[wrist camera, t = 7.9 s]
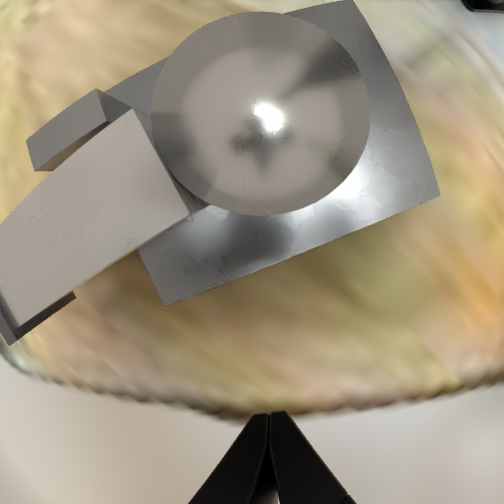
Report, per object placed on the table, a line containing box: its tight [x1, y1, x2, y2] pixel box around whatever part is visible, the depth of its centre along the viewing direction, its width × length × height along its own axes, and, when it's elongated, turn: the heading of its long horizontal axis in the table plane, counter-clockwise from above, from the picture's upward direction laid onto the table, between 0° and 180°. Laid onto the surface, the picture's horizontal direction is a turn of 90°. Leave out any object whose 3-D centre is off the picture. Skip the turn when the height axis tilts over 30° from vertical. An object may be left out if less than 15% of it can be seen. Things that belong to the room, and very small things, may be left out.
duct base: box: [26, 0, 440, 306], centre depth 12 cm, size 16×12×6 cm
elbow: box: [0, 12, 371, 346], centre depth 11 cm, size 16×6×5 cm, turn 119°
